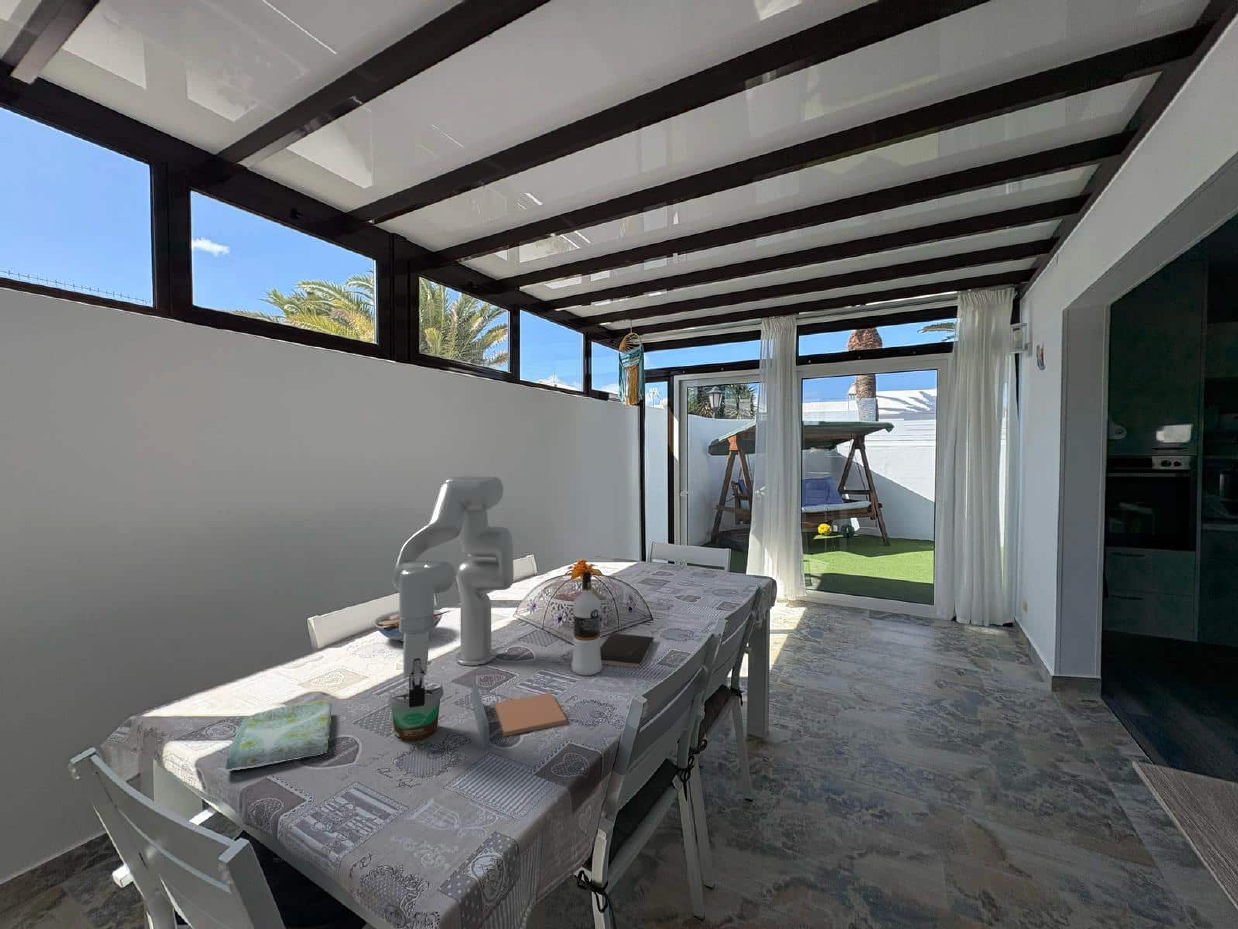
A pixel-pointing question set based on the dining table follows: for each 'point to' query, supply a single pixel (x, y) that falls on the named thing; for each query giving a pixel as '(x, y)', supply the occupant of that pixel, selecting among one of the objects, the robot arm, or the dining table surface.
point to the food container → (416, 715)
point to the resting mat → (529, 714)
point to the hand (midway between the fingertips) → (416, 696)
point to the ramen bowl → (397, 624)
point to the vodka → (586, 631)
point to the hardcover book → (625, 649)
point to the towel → (281, 734)
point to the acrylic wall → (480, 716)
